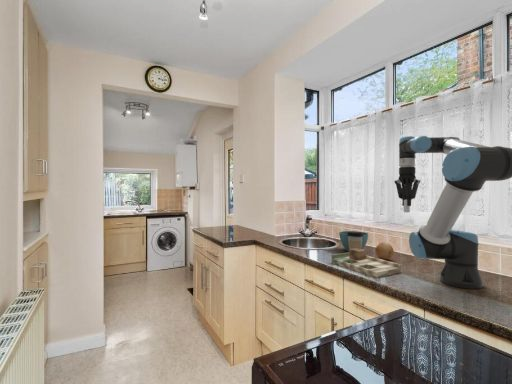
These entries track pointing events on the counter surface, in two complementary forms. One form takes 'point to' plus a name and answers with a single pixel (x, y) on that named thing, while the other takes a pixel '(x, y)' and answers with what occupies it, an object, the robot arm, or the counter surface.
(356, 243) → the coffee cup
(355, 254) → the block
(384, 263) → the compartment tray
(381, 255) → the onion
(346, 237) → the plant pot
